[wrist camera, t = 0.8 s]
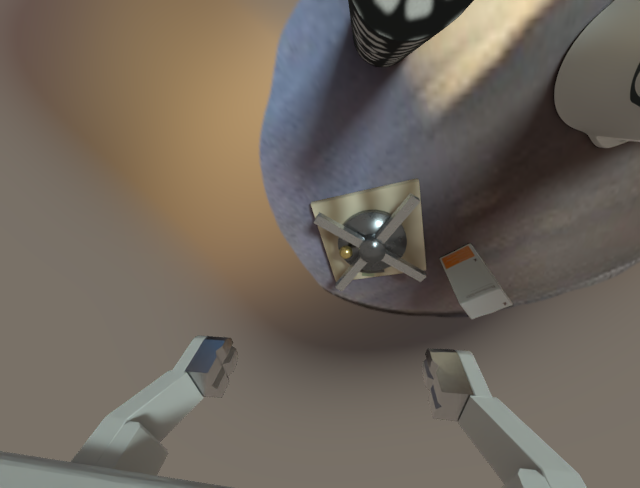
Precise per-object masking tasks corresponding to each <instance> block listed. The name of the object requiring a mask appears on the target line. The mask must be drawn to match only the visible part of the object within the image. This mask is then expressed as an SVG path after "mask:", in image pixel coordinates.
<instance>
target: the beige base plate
mask: <svg viewBox="0 0 640 488" xmlns="http://www.w3.org/2000/svg"><path fill="white" fill-rule="evenodd" d="M410 193H411V194H413V195H415V196H416V197H418V198H419V199H420V187H419V180H418V178H417V179H412V180H408V181H403V182H399V183H394V184H390V185H385V186H381V187H376V188H372V189H368V190H363V191H359V192H354V193H350V194H345V195H341V196H336V197H332V198H327V199H323V200H319V201H314V202H312V203H311V207H312V210H313V213H314V216H315V218H316V217H317V215H318V213H319V212H320V213H322V214H324V215H326V216H328V217H329V218H331V219H333V220H335V221H336V222H338V223H340V224H342V225H343V224H344V222H345V221H346V220H347V219H348V218H349V217H351V216H352V215H354V214H356V213H358V212H361V211H364V210H381V211H385V212H388V213H390V214H393V213H394V212H395V211H396V209H397V208H398V207H399V206H400V204H401V203H402V202H403V201H404V200H405V198H406V197H407V196H408V195H409V194H410ZM420 201H421V199H420ZM402 225H403V227H404V230H405V233H406V237H407V247H406V250H405V252H404V254H403V256H402V257H401V258H402V259H404V260H405V261H407V262H409V263H411V264H412V265H414V266H416V267H418V268H420V269H421V270H423V271H424V270H426V259H425V247H424V235H423V223H422V211H421V202H420V203H419V204H418V205H417V206H416V207H415V209H414V210H413V211H412V212H411V213H410V214H409V215H408V217H407V218H406V219H405V220H404V221H403V222H402ZM317 226H318V225H317ZM318 229H319V232H320V235H321V238H322V241H323V244H324V247H325V250H326V253H327V256H328V259H329V262H330V265H331V268H332V271H333V275H334V278H335V281H336V282H337V281H338V280H339V278H340V277H341V276H342V275H343V274H344V272H345V271H346V270H347V269H348V268H349V266H350V264H348V263H347V262H346V261H345V260H344V259H343V258H342V257H341V256H340V254H339V249H338V236H336V235H334V234H333V233H331V232H329V231H327V230H325V229H324V228H322V227H320V226H318ZM401 273H403V272H401V271H399V270H398V269H396V268H394V267H392V266H390V267H388V268H386V269H382V270H378V271H365V270H360V272H359V273H358V274H357V275H356V276H355V277H354V279H362V278H370V277H377V276H385V275H393V274H401ZM354 279H353V280H354Z"/></svg>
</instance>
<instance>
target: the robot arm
mask: <svg viewBox="0 0 640 488" xmlns="http://www.w3.org/2000/svg"><path fill="white" fill-rule="evenodd" d="M554 101H555V106H556V110H557V112H558V114H559V116H560V118H561V119H562V120H563V121H564V122H565V123H566V124H567V125H569V126H570V127H572V128H574V129H577V130H579V131H582V132H584V133H586V134H587V135H588V136H589V138H590V139H591V141H592V142H593V143H594V145H595V146H597V147H599V148H611V147H615V146H617V145H620V144H623V143H626V142H629V141H635V142H640V0H614V1H613V2H612V3H611V4H610V5H609V6H608V7H607V8H606V9H604V10H603V11H602V12H601V13H600V14H599V15H598V16H597V17H596V18H595V19H594V20H593V21H592V22H591V23H590V24H589V25H588V26H587V27H586V28H585V29H584V30H583V32H582V33H581V34H580V35H579V37H578V38H577V39H576V41H575V42H574V43H573V45H572V46H571V48H570V50H569V51H568V53H567V55H566V57H565V59H564V61H563V63H562V65H561V67H560V70H559V73H558V75H557V79H556V83H555V90H554ZM232 344H233V341H232V339H231V338H226V337H212V336H196V337H195V338H194V339H193V340H192V342H191V343H190V345H189V346H188V348H187V349H186V351H185V352H184V354H183V355H182V357H181V358H180V360H179V361H178V363H177V364H176V366H175V367H174V369H173V370H172V371H168V372H166V373H165V374H164V375H162V376H161V377H160V378H158V379H157V380H155V381H154V382H153V383H151V384H150V385H149V386H147V387H146V388H145V389H143V390H142V391H140V392H139V393H138V394H136V395H135V396H133V397H132V398H131V399H129V400H128V401H127V402H125V403H124V404H123V405H121V406H120V407H118V408H117V409H116V410H114V411H113V412H112V413H110V414H109V415H107V416H106V417H105V418H104V420H103V421H102V422H101V424H100V425H99V426H98V427H97V428H96V430H95V431H94V433H93V434H92V435H91V436H90V438H89V439H88V440H87V442H86V443H85V444H84V445H83V447H82V448H81V449H80V451H79V452H78V453H77V454H76V456H75V457H74V458H73V460H72V461H71V462H67V461H60V460H54V459H47V458H41V457H35V456H28V455H22V454H16V453H9V452H2V451H0V488H232V487H226V486H220V485H214V484H207V483H201V482H194V481H188V480H182V479H175V478H168V477H162V476H157V474H158V472H159V470H160V468H161V466H162V465H163V463H164V461H165V459H166V457H167V455H168V451H167V449H166V448H165V447H164V446H163V445H162V444H161V443H160V442H161V441H162V440H163V438H165V437H166V435H167V434H168V433H169V432H170V431H171V430H172V429H173V428H174V427H175V426H176V425H177V424H178V423H179V422H180V421H181V420H182V419H183V418H184V417H185V416H186V415H187V414H188V413H189V412H190V411H191V410H192V409H193V408H194V407H195V406H196V405H197V404H198V403H199V402H200V401H201V400H202V399H203V397H217V398H222V397H223V395H224V393H225V390H226V388H227V386H228V383H229V378H228V376H229V375H230V374H231V373H232V372H234V370H235V367H236V365H237V360H238V353H237V350H236V349H235V348H234V347H233V346H232ZM425 355H426V360H424V361H423V379H424V384H425V387H426V388H427V389H428V390H429V391H430V393H429V397H428V401H429V405H430V409H431V413H432V417H433V418H434V419H442V420H450V421H458V424H459V425H460V426H461V428H462V429H463V430H464V432H465V433H466V434H467V436H468V437H469V438H470V439H471V441H472V442H473V443H474V445H475V446H476V447H477V449H478V450H479V451H480V453H481V454H482V455H483V456H484V458H485V459H486V461H487V462H488V463H489V464H490V466H491V467H492V468H493V470H494V471H495V472H496V474H497V475H498V476H499V478H500V479H501V480H502V482H503V483H504V484H505V485H504V486H503V487H502V488H587V487H586V485H585V484H584V482H583V480H582V478H581V477H580V475H579V474H578V473H577V472H576V471H575V470H574V469H573V468H572V467H571V466H570V465H569V464H568V463H566V462H565V461H564V460H563V459H562V458H561V457H560V456H559V455H558V454H557V453H556V452H555V451H553V450H552V449H551V448H550V447H549V446H548V445H547V444H546V443H545V442H544V441H543V440H542V439H541V438H540V437H538V436H537V435H536V434H535V433H534V432H533V431H532V430H531V429H530V428H529V427H528V426H527V425H526V424H525V423H524V422H523V421H521V420H520V419H519V418H518V417H517V416H516V415H515V414H514V413H513V412H512V411H511V410H510V409H509V408H507V407H506V406H505V405H504V404H503V403H502V402H501V401H500V400H499V399H498V398H495V397H492V395H491V393H490V391H489V389H488V387H487V385H486V382H485V380H484V378H483V376H482V374H481V371H480V369H479V367H478V365H477V363H476V360H475V358H474V356H473V354H472V353H471V352H470V351H464V350H450V349H427V350H426V353H425Z"/></svg>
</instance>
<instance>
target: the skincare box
mask: <svg viewBox="0 0 640 488" xmlns="http://www.w3.org/2000/svg"><path fill="white" fill-rule="evenodd" d="M439 259H440V261H441V264H442V266H443V268H444V270H445V273H446V275H447V277H448V279H449V282H450V284H451V286H452V288H453V291H454V293H455V295H456V297H457V300H458V302H459V304H460V305H461V307H462V308H463V309H464V311H465V312H466V313H467V314H468V316H469V317H470V318H471V319H474V318H477V317H480V316H482V315H486V314H490V313H493V312H495V311H497V310H499V309H502V308H505V307H508V306H511V305H513V303H512V302H511V300H510V299H509V298H508V296H507V295H506V293H505V292H504V290H503V289H502V288H501V286H500V285H499V283H498V282H497V280H496V279H495V277H494V276H493V274H492V273H491V272H490V270H489V269H488V267H487V266H486V264H485V263H484V261H483V260H482V259H481V257H480V256H479V254H478V253H477V251H476V250H475V249H474V247H473V246H472V245H471V243H469V244H467V245H465V246H463V247H461V248H459V249H457V250H455V251H453V252H451V253H449V254H447V255H445V256H443V257H441V258H439Z"/></svg>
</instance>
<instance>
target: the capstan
mask: <svg viewBox="0 0 640 488" xmlns="http://www.w3.org/2000/svg"><path fill="white" fill-rule="evenodd" d="M420 202H421V201H420V199H419V198H418V197H416V196H415V195H413V194H411V193H410V194H409V195H408V196H407V197H406V198H405V200H404V201H403V202H402V203H401V204H400V206H399V207H398V208H397V209H396V211H395V212H394V213H393V214H390V213H388V212H385V211H381V210H364V211H361V212H358V213H356V214H354V215H352V216H351V217H349V218H348V219H347V220H346V221H345V222H344V224H343V225H342V224H340V223H338V222H336V221H335V220H333V219H331V218H329V217H328V216H326V215H324V214H322V213H320V212H319V213H318V215H317V217H316V218H315V220H314V223H315V224H316V225H318V226H320V227H322V228H324V229H325V230H327V231H329V232H331V233H333V234H334V235H336V236H338V249H339V254H340V256H341V257H342V258H343V259H344V260H345V261H346V262H347V263H348V264H350V266H349V268H348V269H347V270H346V271H345V272H344V274H343V275H342V276H341V277H340V278H339V280H338V281H337V282H336V285H335V288H337V289H339V290H340V291H343V290H344V289H345V288H346V287H347V285H348V284H349V283H350V282H351V281H352V280H353V279H354V277H355V276H356V275H357V274H358V273H359V272H360V270H365V271H378V270H382V269H386V268H388V267H390V266H392V267H394V268H396V269H398V270H399V271H401V272H403V273H405V274H407V275H408V276H410V277H412V278H414V279H416V280H417V281H419V282H421V281H423V280H424V279H425V278H426V277H427V275H426V273H425V271H423V270H421V269H420V268H418V267H416V266H414V265H412V264H411V263H409V262H407V261H405V260H404V259H402V258H401V257H402V256H403V254H404V252H405V250H406V247H407V237H406V233H405V230H404V227H403V225H402V222H403V221H404V220H405V219H406V218H407V217H408V215H409V214H410V213H411V212H412V211H413V210H414V209H415V207H416V206H417V205H418V204H419V203H420Z"/></svg>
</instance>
